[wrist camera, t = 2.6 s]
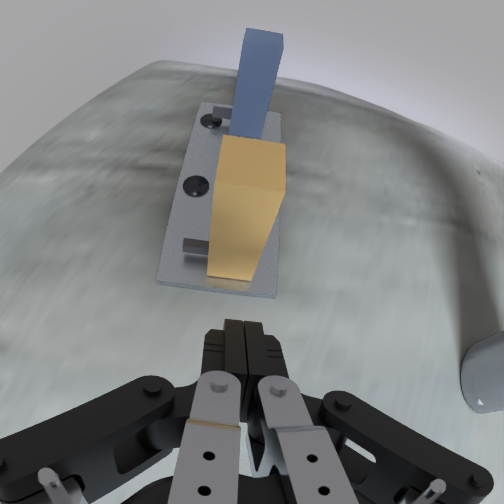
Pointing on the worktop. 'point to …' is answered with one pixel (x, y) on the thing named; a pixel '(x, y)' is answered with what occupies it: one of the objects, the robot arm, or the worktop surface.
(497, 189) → the worktop surface
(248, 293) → the bolt plate
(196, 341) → the worktop surface
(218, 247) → the block
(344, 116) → the worktop surface
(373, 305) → the worktop surface
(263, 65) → the fixed leg
